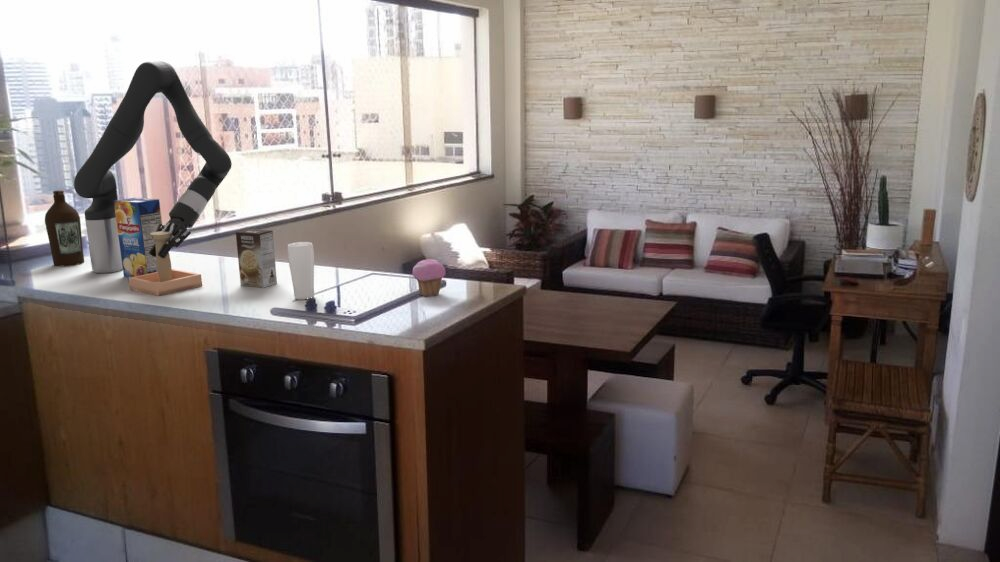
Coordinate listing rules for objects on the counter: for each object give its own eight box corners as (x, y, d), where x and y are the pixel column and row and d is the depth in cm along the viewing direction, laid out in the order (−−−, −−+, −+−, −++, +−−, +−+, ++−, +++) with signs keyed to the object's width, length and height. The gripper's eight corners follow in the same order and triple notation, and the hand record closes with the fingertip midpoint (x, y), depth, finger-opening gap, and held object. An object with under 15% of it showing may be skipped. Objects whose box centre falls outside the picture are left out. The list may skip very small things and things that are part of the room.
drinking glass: (304, 302, 220) (299, 247, 217) (286, 299, 224) (281, 245, 220) (322, 296, 226) (318, 242, 222) (304, 293, 229) (300, 241, 226)
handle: (164, 286, 238) (157, 235, 234) (153, 283, 242) (146, 233, 238) (179, 283, 241) (173, 232, 238) (168, 280, 245) (162, 230, 242)
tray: (130, 289, 240) (128, 277, 240) (173, 280, 251) (172, 268, 251) (158, 295, 232) (157, 283, 231) (202, 285, 243) (201, 274, 242)
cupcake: (441, 290, 229) (439, 254, 227) (450, 297, 221) (448, 260, 219) (410, 293, 226) (408, 258, 224) (418, 300, 218) (416, 263, 216)
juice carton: (123, 276, 258) (113, 200, 253) (144, 271, 265) (134, 197, 259) (148, 280, 252) (138, 202, 247) (168, 275, 259) (159, 199, 253)
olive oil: (47, 264, 282) (36, 191, 276) (80, 259, 289) (69, 188, 283) (57, 268, 274) (45, 193, 268) (90, 263, 281) (80, 190, 276)
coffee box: (239, 285, 242) (233, 231, 238) (254, 280, 247) (249, 228, 244) (264, 288, 238) (258, 233, 234) (278, 283, 243) (273, 229, 240)
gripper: (165, 199, 246) (132, 246, 239) (193, 202, 238) (160, 250, 231) (183, 214, 251) (152, 260, 245) (211, 218, 243) (179, 265, 236)
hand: (156, 255), depth 238 cm, fingers open, 4 cm apart
